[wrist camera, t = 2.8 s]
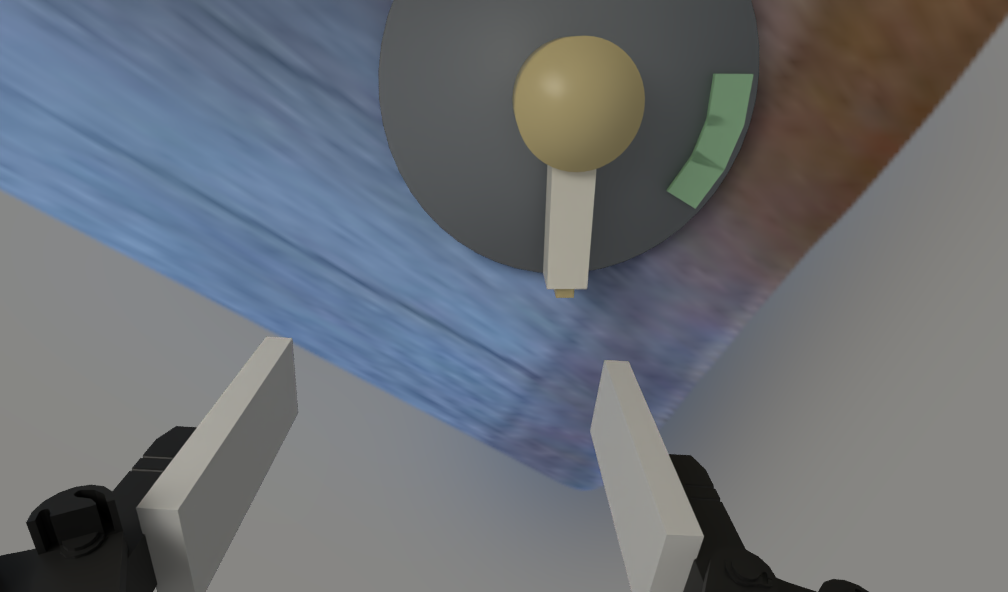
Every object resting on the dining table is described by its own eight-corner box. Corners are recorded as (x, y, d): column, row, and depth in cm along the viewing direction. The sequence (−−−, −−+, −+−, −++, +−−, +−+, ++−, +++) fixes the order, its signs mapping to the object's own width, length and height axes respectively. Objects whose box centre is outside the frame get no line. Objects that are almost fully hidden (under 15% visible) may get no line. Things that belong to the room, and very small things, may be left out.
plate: (397, 266, 34) (393, 275, 33) (364, -131, 26) (357, -141, 24) (715, 265, 34) (724, 275, 33) (786, -125, 26) (803, -134, 25)
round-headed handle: (513, 35, 28) (516, 35, 24) (631, 36, 28) (652, 36, 24) (509, 278, 33) (512, 307, 30) (608, 277, 33) (622, 306, 30)
